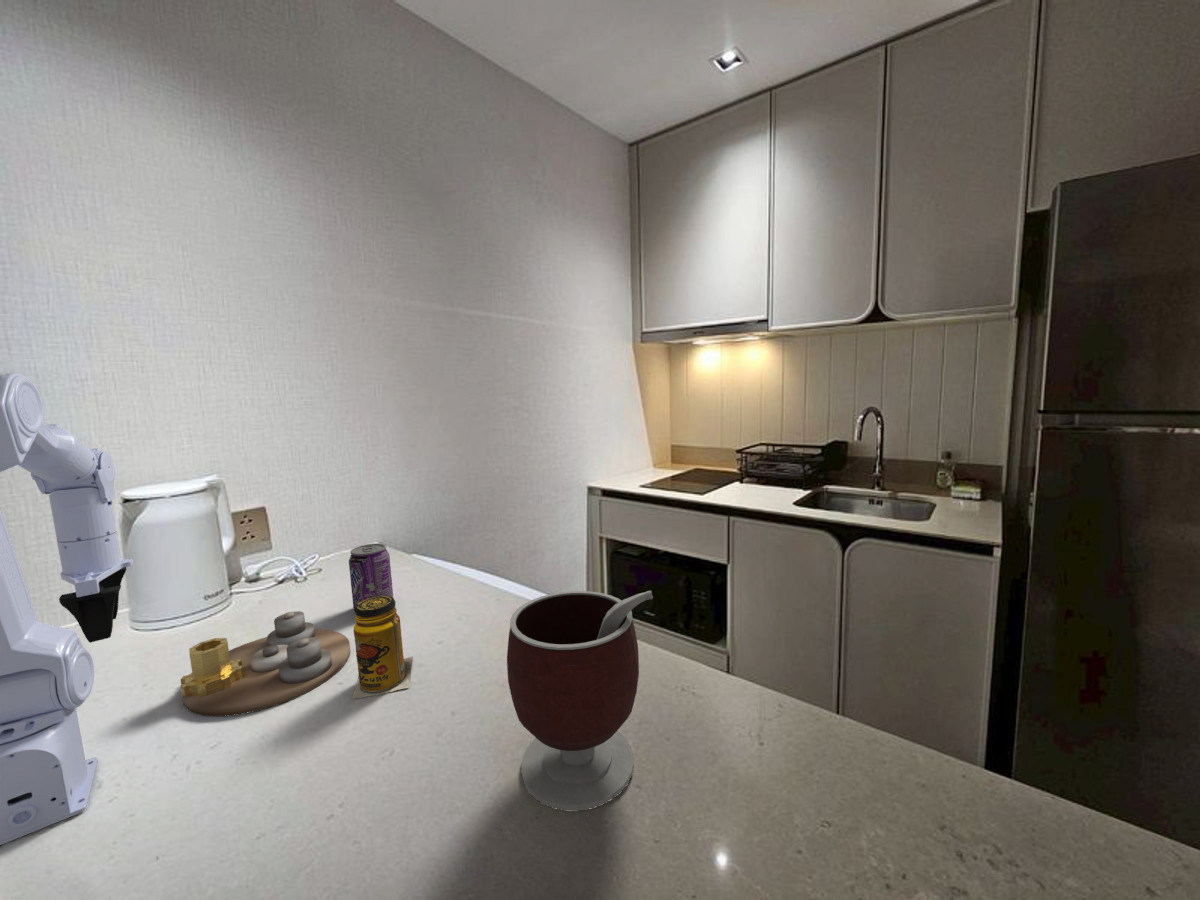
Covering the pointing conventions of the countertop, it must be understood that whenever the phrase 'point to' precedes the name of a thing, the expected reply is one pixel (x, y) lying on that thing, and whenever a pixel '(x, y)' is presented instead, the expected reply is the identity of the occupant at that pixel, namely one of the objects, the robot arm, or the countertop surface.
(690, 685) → the countertop surface
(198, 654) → the brass gear
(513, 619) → the mate gourd
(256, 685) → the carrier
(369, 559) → the beverage can
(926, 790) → the countertop surface
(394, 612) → the condiment
